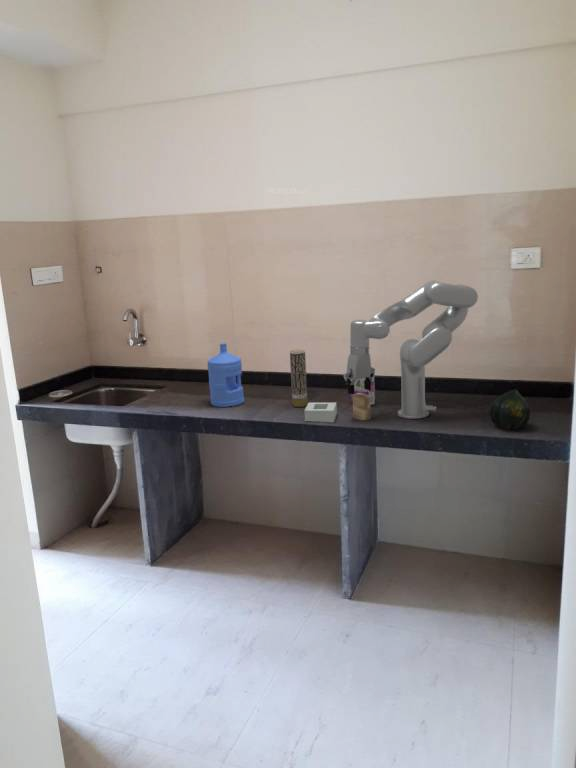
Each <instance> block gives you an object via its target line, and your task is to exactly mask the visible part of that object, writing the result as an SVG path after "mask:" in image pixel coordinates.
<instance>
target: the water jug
mask: <svg viewBox="0 0 576 768" xmlns="http://www.w3.org/2000/svg"><path fill="white" fill-rule="evenodd" d="M227 348H228V347H227V343H220V344H219V350H220V351H219V353H218V354H216V355H215V356H212V357H210V358H209V359H207V371H208V386H209V393H210V397H209V398H210V399H209V401H210V404H211V405H212V406H213V407H216V406H217V407H216V408H231V407H230V406H232V407H237V406H240V405H242V404H243V403H244V401H245V396H244V387H243V386H242V379H241V376H242V373H243V370H242V368H243V363H242V359H241V357H240V356H237V355H234V354H232V353H230V352H228V349H227ZM236 405H237V406H236Z"/></svg>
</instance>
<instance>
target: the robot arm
mask: <svg viewBox="0 0 576 768" xmlns="http://www.w3.org/2000/svg"><path fill="white" fill-rule="evenodd" d="M478 299H479V295H478V292H477V291H476V289H475V288H473V287H471V286H468V285H465V284H450V283H446V282H440V281H437V280H430V281H428V282H426V283H424V284H423V285H421V286H419V287H418V288H417V289H415V290H414V291H413V292H412V293H410V294H408V295H406V296H405V297H404V298H402V299H400V300H398V301H396V302H395V303H393V304H391V305H389V306H388V307H386V308H384V309H382V310H381V311H380V312H378V313H377V314H374V315H373V316H372V317H371V318H370V319H369V320H366V319H355V320H352V321H351V322H350V329H349V330H350V335H349V336H350V341H349V342H350V345H349V346H350V350H349V351H350V353H349V355H348V358H347V365H346V372H345V373H344V374H343V378H344V382H345V384H346V385H347V394H349V395H350V394H354V385H353V384H354V382H355V380H357V379H362V378H365V379H366V380H364V389H366V390H371V380H372V377H373V375H374V371H375V372H376V369H375V368H374V367H372V363H371V355H370V339H375V340H383V339H386V338H387V337H388V336H389V334H390V332H391V331H390V328H391V326H393V325H395V324H397V323H398V322H401V321H404V320H409V319H413V318H414V317H417V316H418V315H420V314H421V313H422V312H424V311H425V310H427V309H428V308H429V307H431V306H433V305H434V304H435V305H439V306H445V307H446V308H445V309H444V311H443V312H441V314H439V315H438V316H437V317H436V318H435V319H434V320H432V321H431V322H430V323H429V324H427V325H426V326H425V327H424V328H423V329H422V332H421V337H422V338H421V339H419V340H418V339H414V338H411V339H407V340H405V341H404V342H403V343H402V345H401V346H400V349H399V358H400V359H399V360H400V368H401V369H400V373H401V374H400V375H401V379H400V380H401V383H400V384H401V387H400V388H401V389H400V390H401V394H400V396H401V399H400V400H401V409H398V411H397V415H398V417H400V418H403V419H411V420H412V419H413V420H415V419H423V418H427V417H428V416H429V413H430V412H437V406H433V405H428V404H426V395H425V394H426V371H425V370H426V368H425V366H427V365H428V364H429V363H430V362H432V361H433V360H434V359H436V358H437V357H439V355H441V354H442V353H443V352H445V350H447V349H448V348H449V346H450V345H451V343H452V341H453V334H452V333H453V332H455V331H456V330H457V329H459V327H460V326H461V325H462V324H463V323H464V322H465V320H466V318H467V315H468V311H469V309H470V308H473V307H474V306H475V305H476V303H477V302H478ZM351 379H352V381H351Z"/></svg>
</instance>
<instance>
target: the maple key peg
mask: <svg viewBox="0 0 576 768" xmlns="http://www.w3.org/2000/svg"><path fill="white" fill-rule="evenodd" d="M352 418H353V419H355V420H359V419H360V420H359V421H363V420H364V421H367V420H370V419H371V406H370V395H367V394H362V393H357V394H353V403H352Z"/></svg>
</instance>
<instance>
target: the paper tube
mask: <svg viewBox="0 0 576 768" xmlns="http://www.w3.org/2000/svg"><path fill="white" fill-rule="evenodd" d="M289 361H290V362H289V365H290V381H291V382H290V383H291V385H290V386H291V400H292V401H291V402H292V406H293V407H295V408H303V407H307V405H308V386H307V384H308V382H307V364H306V362H307V361H306V350H305V349H292V350H289Z"/></svg>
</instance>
